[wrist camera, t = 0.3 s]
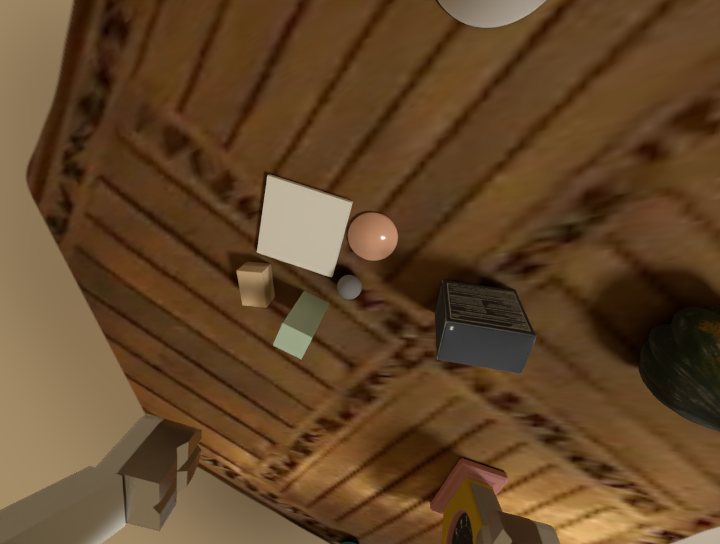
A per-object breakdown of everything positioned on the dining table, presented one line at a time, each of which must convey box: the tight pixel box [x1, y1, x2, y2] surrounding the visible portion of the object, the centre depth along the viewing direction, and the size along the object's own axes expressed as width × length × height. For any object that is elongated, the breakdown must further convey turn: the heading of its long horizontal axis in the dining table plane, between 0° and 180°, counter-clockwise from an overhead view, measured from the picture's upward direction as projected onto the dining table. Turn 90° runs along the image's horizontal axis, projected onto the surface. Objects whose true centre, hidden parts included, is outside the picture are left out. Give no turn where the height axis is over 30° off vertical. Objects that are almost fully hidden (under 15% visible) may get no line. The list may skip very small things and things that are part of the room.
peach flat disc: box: [348, 212, 398, 260], centre depth 48 cm, size 7×7×1 cm
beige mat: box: [257, 174, 353, 277], centre depth 49 cm, size 12×12×1 cm
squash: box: [639, 305, 720, 432], centre depth 41 cm, size 14×15×15 cm
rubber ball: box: [337, 275, 362, 299], centre depth 50 cm, size 4×4×4 cm
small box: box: [435, 280, 536, 374], centre depth 45 cm, size 11×6×10 cm, turn 86°
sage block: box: [273, 291, 329, 359], centre depth 52 cm, size 4×4×9 cm
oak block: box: [237, 262, 275, 308], centre depth 53 cm, size 6×4×4 cm, turn 0°
